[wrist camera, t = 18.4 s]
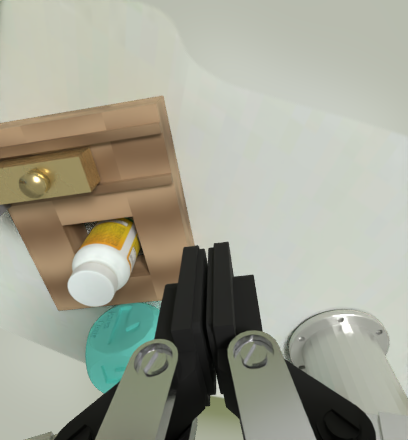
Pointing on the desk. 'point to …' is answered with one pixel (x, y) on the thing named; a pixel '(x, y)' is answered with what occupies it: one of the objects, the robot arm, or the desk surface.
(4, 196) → the latch bar
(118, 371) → the decorative dice
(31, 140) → the socket block
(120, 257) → the supplement bottle
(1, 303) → the desk surface
